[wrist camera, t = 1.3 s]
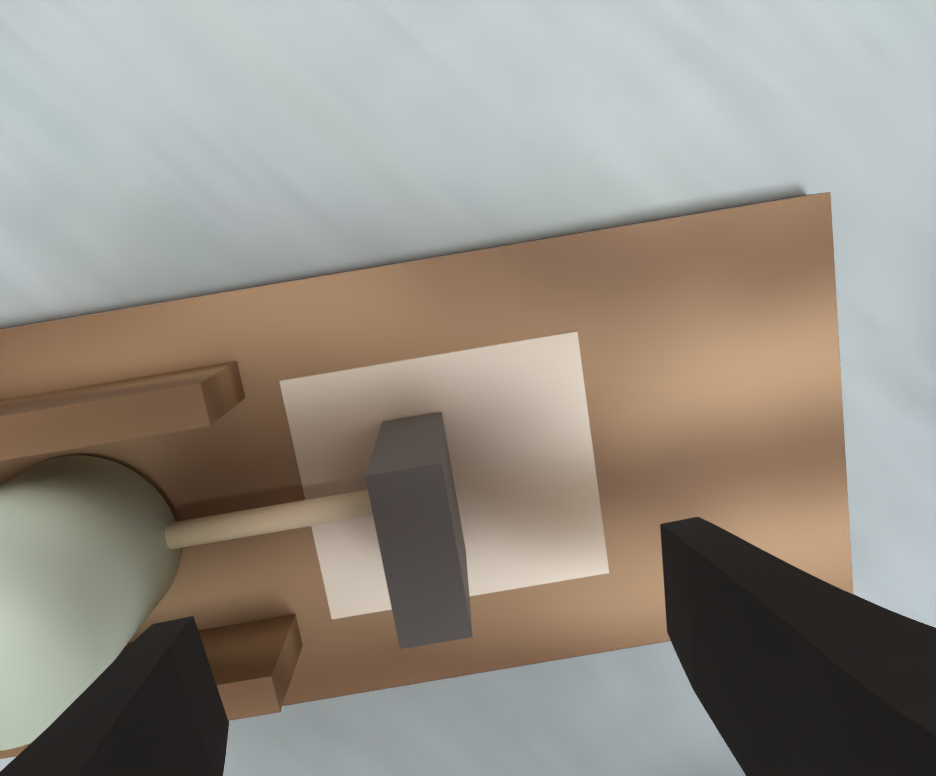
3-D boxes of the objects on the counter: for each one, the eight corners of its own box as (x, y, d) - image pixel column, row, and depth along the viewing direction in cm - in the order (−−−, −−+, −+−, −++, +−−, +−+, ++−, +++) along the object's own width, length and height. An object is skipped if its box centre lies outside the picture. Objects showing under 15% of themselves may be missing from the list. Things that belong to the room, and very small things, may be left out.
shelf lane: (832, 590, 22) (920, 669, 18) (34, 724, 22) (-58, 833, 18) (807, 194, 20) (901, 183, 16) (-89, 343, 20) (-228, 371, 16)
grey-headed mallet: (468, 566, 20) (477, 671, 15) (22, 641, 20) (-112, 769, 15) (438, 394, 19) (437, 446, 14) (-32, 472, 19) (-194, 551, 14)
